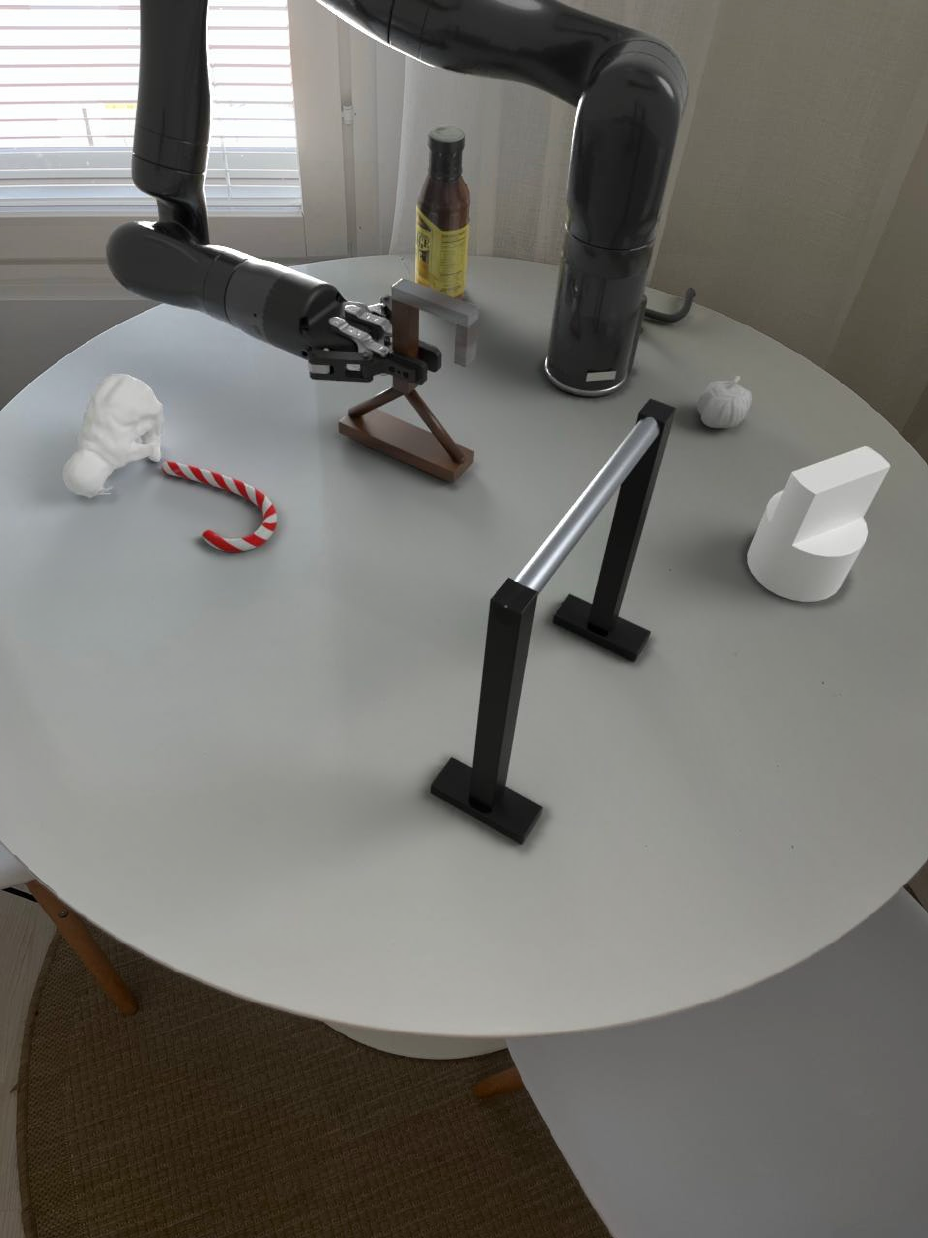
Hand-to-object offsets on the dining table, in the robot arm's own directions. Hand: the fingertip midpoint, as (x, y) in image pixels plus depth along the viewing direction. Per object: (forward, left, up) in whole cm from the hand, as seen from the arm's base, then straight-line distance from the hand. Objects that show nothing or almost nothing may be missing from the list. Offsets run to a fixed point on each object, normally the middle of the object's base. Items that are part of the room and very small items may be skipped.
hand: (432, 367), depth 84 cm
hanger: (+1, -3, -11) cm, 11 cm away
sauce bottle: (-20, -24, -11) cm, 33 cm away
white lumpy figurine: (+26, -17, -11) cm, 33 cm away
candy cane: (+21, -7, -11) cm, 25 cm away
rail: (+11, +30, -11) cm, 34 cm away
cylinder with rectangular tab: (-19, +32, -11) cm, 39 cm away
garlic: (-30, +13, -11) cm, 35 cm away
